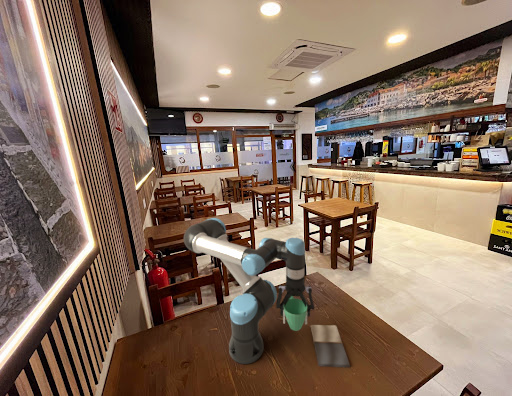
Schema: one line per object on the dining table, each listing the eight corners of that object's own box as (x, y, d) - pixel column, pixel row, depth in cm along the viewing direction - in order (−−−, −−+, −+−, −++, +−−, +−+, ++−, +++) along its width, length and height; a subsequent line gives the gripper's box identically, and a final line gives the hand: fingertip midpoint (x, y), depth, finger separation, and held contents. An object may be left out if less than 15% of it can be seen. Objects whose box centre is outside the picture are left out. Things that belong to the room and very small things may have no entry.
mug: (310, 334, 90) (310, 313, 88) (287, 337, 89) (286, 316, 87) (299, 309, 104) (299, 290, 102) (279, 311, 103) (278, 292, 101)
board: (318, 366, 88) (318, 363, 88) (310, 327, 108) (310, 324, 107) (349, 367, 87) (349, 364, 87) (336, 327, 107) (336, 324, 106)
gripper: (269, 279, 89) (270, 327, 94) (323, 280, 87) (321, 329, 92) (269, 269, 96) (270, 314, 101) (319, 270, 94) (318, 315, 99)
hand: (294, 321), depth 97 cm, fingers closed on mug, 9 cm apart
